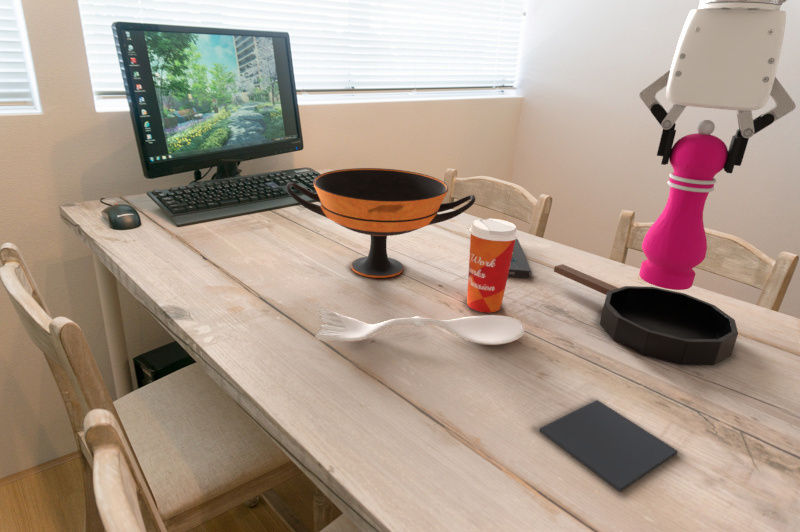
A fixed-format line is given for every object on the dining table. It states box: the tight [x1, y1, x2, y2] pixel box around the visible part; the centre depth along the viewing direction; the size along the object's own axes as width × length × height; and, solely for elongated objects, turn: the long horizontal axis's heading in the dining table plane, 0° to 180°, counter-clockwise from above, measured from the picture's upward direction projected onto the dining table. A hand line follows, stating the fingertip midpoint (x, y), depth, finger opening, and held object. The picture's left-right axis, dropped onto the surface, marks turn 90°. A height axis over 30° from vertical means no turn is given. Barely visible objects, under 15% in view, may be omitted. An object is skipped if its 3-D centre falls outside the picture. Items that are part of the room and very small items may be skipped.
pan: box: [553, 263, 739, 366], centre depth 92 cm, size 33×20×4 cm, turn 34°
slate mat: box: [539, 399, 679, 492], centre depth 62 cm, size 11×11×1 cm
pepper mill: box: [638, 119, 729, 291], centre depth 64 cm, size 7×7×20 cm
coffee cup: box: [466, 217, 519, 314], centre depth 91 cm, size 8×8×15 cm
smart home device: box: [508, 238, 531, 279], centre depth 116 cm, size 8×2×20 cm
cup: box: [286, 167, 476, 279], centre depth 104 cm, size 36×26×18 cm
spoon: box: [314, 307, 525, 346], centre depth 81 cm, size 9×32×4 cm, turn 96°
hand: (695, 165), depth 62 cm, fingers closed on pepper mill, 6 cm apart
